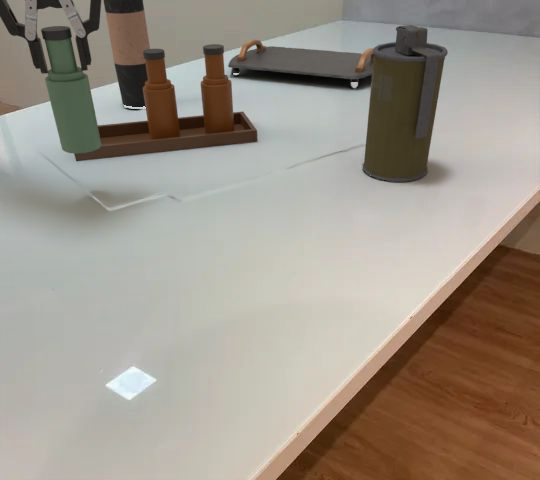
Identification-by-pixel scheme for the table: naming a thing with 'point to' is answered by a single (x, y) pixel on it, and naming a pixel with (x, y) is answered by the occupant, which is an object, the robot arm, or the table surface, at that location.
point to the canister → (403, 105)
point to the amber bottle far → (216, 92)
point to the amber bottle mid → (159, 97)
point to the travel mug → (128, 47)
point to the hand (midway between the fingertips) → (64, 69)
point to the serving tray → (304, 61)
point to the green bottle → (70, 94)
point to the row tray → (191, 137)
